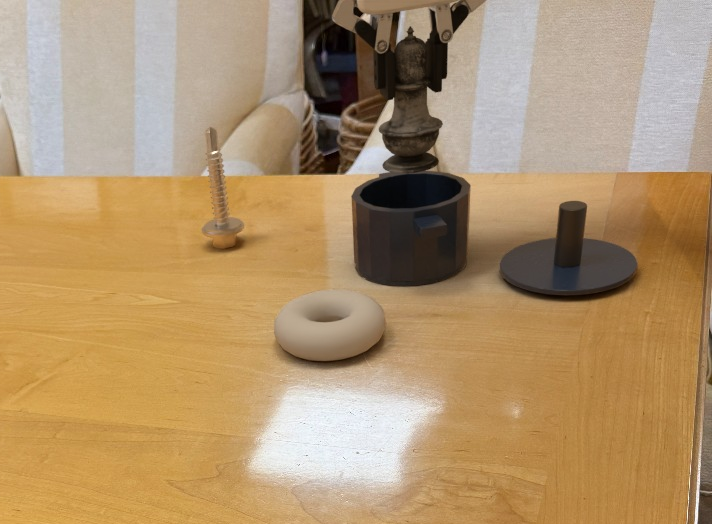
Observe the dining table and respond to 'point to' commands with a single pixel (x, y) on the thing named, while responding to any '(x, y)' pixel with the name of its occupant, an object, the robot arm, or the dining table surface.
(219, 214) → the screw
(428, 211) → the pot
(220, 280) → the dining table surface
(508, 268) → the lid
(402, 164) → the salt shaker
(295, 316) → the donut
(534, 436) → the dining table surface
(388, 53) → the robot arm
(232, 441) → the dining table surface
